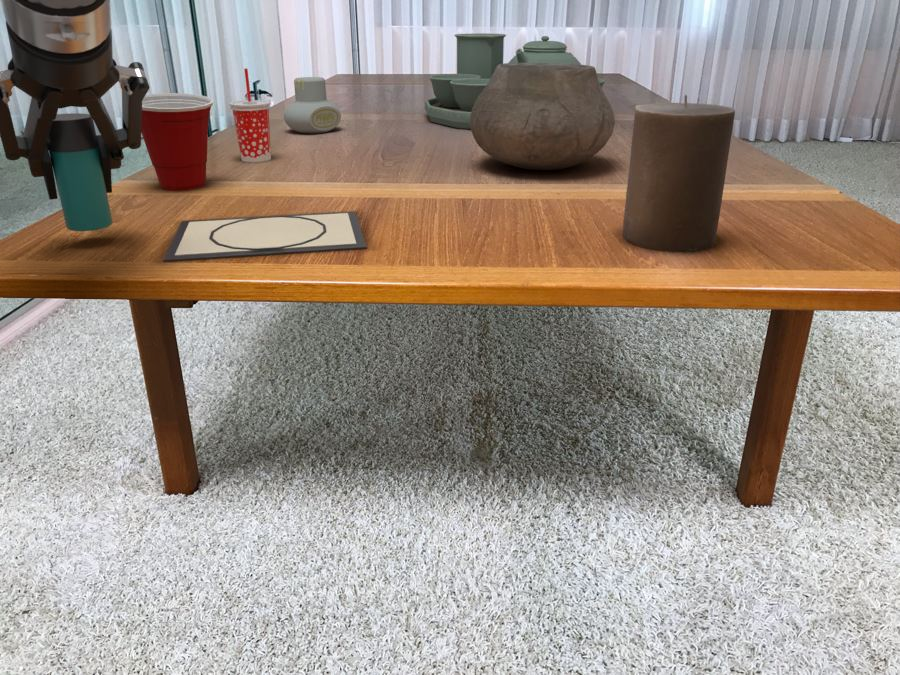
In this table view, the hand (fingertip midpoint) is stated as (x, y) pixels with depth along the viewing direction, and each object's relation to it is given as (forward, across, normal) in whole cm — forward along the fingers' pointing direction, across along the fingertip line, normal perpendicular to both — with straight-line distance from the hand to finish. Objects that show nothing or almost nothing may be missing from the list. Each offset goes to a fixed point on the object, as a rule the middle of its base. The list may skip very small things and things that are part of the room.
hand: (78, 185), depth 77 cm
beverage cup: (+26, +29, +17) cm, 42 cm away
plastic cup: (+17, +14, +8) cm, 23 cm away
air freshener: (+41, +47, +32) cm, 70 cm away
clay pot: (+5, +64, -3) cm, 64 cm away
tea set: (+35, +91, +27) cm, 101 cm away
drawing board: (-4, +17, -12) cm, 21 cm away
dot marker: (0, 0, -5) cm, 5 cm away
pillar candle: (-21, +53, -28) cm, 63 cm away
